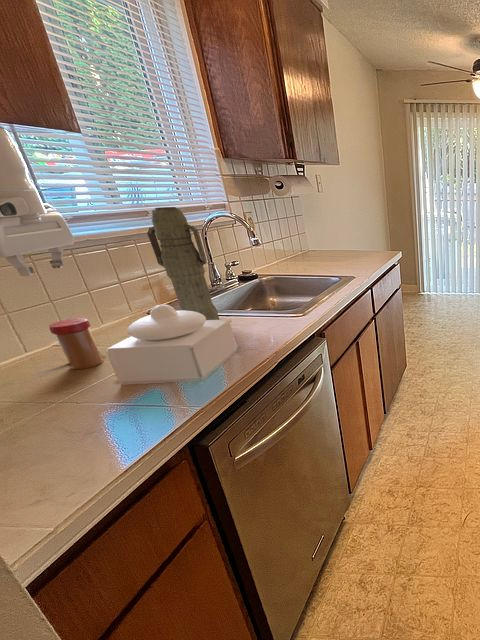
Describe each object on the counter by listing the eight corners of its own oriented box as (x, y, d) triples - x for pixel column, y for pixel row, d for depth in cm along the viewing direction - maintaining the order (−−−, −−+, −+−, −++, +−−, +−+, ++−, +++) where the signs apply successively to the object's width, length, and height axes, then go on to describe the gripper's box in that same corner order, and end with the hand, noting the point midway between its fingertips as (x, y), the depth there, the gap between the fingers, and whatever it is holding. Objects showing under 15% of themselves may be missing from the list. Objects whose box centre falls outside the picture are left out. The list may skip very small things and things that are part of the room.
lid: (45, 332, 94) (41, 325, 93) (79, 323, 99) (76, 316, 99) (62, 335, 91) (59, 328, 91) (96, 326, 97) (93, 319, 96)
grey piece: (187, 329, 122) (146, 207, 107) (230, 325, 125) (196, 205, 110) (176, 339, 114) (130, 209, 99) (223, 335, 117) (184, 207, 102)
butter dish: (168, 353, 105) (147, 294, 98) (240, 350, 106) (223, 292, 99) (120, 385, 89) (90, 317, 82) (204, 380, 90) (181, 313, 83)
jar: (65, 367, 98) (45, 327, 93) (94, 358, 103) (76, 319, 98) (80, 370, 96) (61, 329, 91) (109, 361, 101) (91, 321, 96)
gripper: (37, 203, 93) (63, 263, 99) (-54, 209, 74) (-14, 282, 80) (68, 202, 94) (92, 262, 99) (-14, 208, 75) (22, 280, 81)
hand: (44, 271), depth 90 cm, fingers open, 7 cm apart
